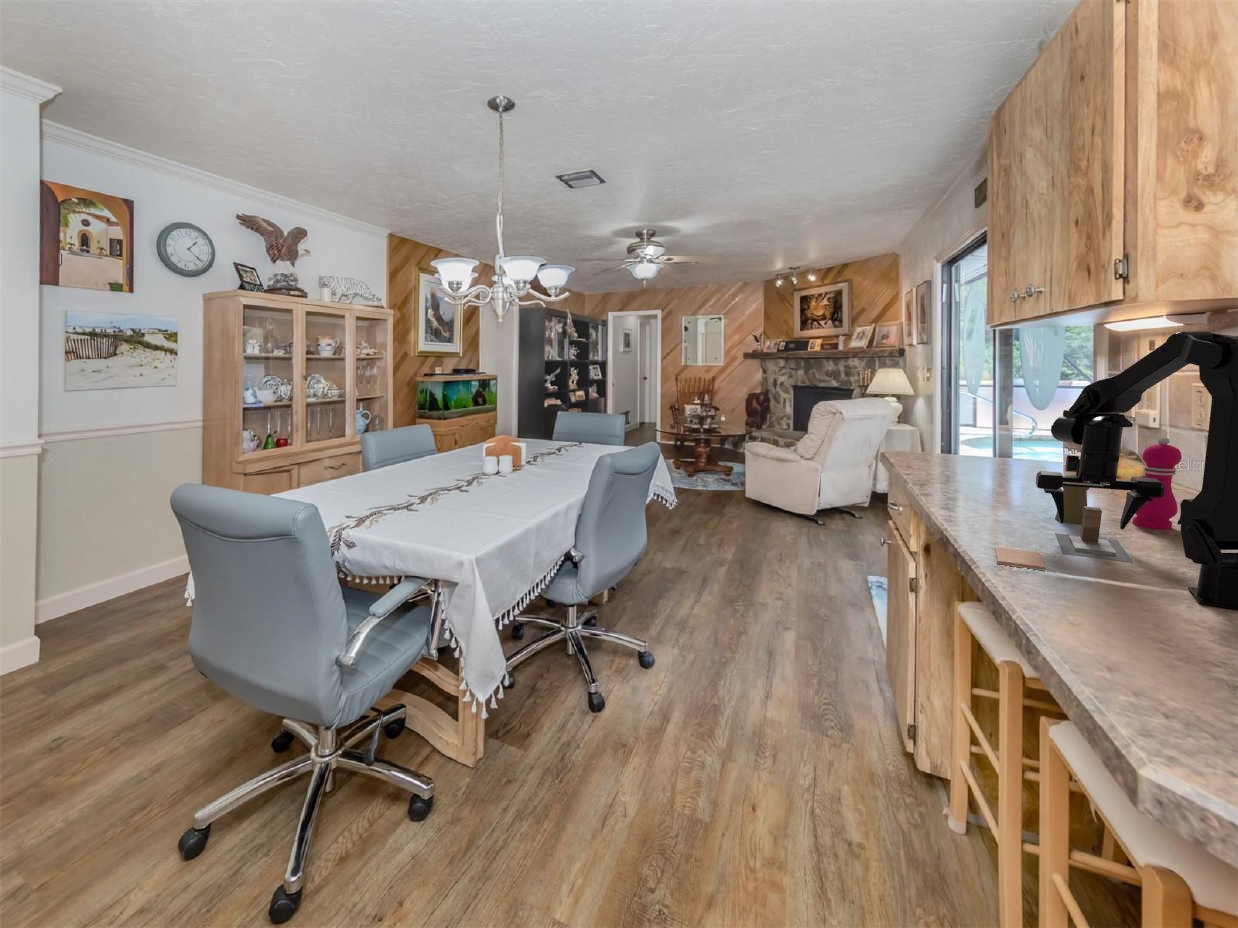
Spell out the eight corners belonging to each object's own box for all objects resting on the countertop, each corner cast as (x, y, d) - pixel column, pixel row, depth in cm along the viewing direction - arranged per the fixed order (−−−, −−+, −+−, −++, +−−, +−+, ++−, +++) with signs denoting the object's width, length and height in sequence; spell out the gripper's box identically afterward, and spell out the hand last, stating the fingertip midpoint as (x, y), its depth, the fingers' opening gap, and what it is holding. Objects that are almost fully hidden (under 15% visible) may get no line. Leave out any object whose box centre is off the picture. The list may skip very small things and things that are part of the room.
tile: (1038, 559, 105) (1044, 574, 98) (994, 553, 109) (996, 567, 101) (1039, 552, 105) (1045, 566, 97) (995, 547, 109) (997, 560, 101)
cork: (1048, 521, 127) (1053, 474, 125) (1063, 517, 130) (1068, 471, 128) (1078, 527, 122) (1084, 479, 120) (1094, 523, 124) (1100, 476, 122)
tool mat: (1133, 565, 99) (1133, 562, 99) (1062, 556, 105) (1062, 553, 105) (1117, 542, 112) (1117, 540, 111) (1054, 535, 117) (1054, 533, 117)
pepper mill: (1159, 533, 116) (1173, 440, 113) (1120, 524, 123) (1132, 436, 120) (1183, 530, 118) (1197, 438, 115) (1143, 521, 125) (1155, 434, 122)
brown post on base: (1115, 555, 103) (1120, 519, 102) (1074, 550, 106) (1078, 515, 105) (1106, 542, 110) (1111, 508, 109) (1068, 538, 113) (1072, 505, 112)
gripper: (1155, 445, 109) (1144, 522, 111) (1037, 441, 119) (1030, 511, 122) (1171, 453, 100) (1158, 536, 102) (1041, 447, 110) (1033, 523, 112)
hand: (1090, 525), depth 110 cm, fingers open, 9 cm apart
